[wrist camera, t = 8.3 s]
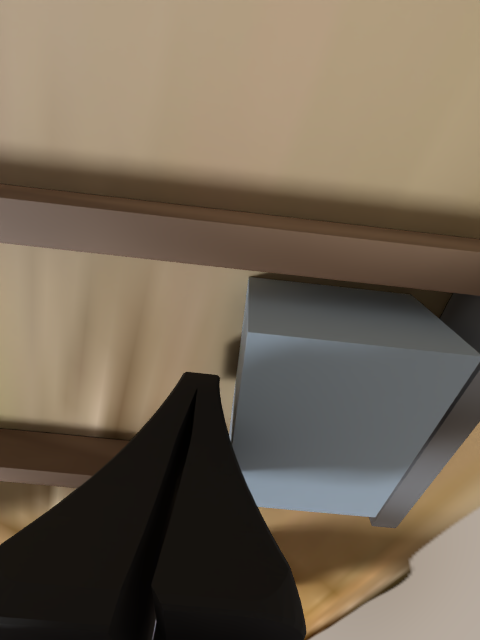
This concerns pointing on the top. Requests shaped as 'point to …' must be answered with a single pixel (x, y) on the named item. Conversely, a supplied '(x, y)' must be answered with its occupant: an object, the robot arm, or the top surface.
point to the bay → (256, 255)
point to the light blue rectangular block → (338, 393)
